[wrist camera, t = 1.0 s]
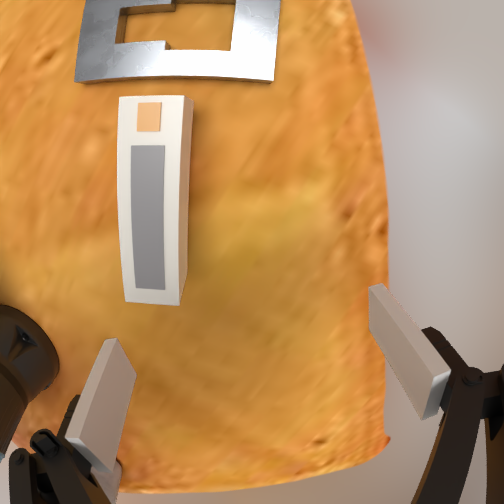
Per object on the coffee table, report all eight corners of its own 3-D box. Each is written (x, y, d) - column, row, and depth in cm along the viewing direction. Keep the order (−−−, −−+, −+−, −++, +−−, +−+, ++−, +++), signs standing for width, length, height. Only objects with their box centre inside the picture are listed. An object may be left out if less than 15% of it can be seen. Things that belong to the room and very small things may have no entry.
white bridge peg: (150, 253, 34) (124, 303, 25) (152, 103, 28) (118, 96, 19) (191, 255, 35) (178, 307, 25) (198, 103, 28) (183, 95, 19)
